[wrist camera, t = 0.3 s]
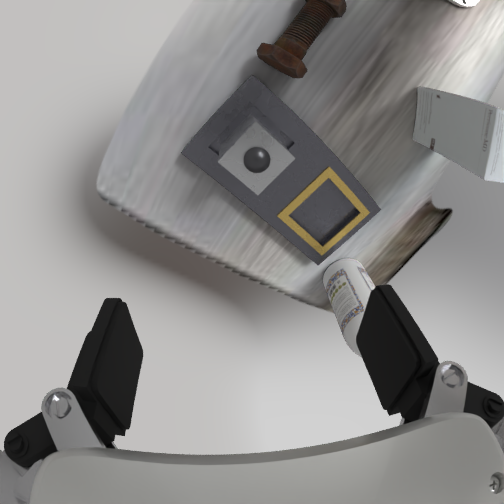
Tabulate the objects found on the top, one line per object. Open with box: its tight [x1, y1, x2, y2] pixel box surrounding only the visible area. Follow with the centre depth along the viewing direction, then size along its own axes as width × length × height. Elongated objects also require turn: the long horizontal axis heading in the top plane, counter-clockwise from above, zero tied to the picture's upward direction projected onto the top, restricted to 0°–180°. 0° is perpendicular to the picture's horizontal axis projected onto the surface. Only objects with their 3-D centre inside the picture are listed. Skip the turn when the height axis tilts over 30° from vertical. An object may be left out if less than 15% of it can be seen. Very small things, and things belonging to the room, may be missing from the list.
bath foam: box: [323, 258, 375, 357], centre depth 36 cm, size 7×7×20 cm
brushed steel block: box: [218, 114, 295, 195], centre depth 29 cm, size 5×5×8 cm
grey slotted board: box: [181, 75, 381, 265], centre depth 35 cm, size 12×24×2 cm, turn 47°
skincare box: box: [413, 86, 504, 183], centre depth 25 cm, size 8×6×15 cm
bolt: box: [257, 0, 346, 78], centre depth 23 cm, size 6×5×15 cm
